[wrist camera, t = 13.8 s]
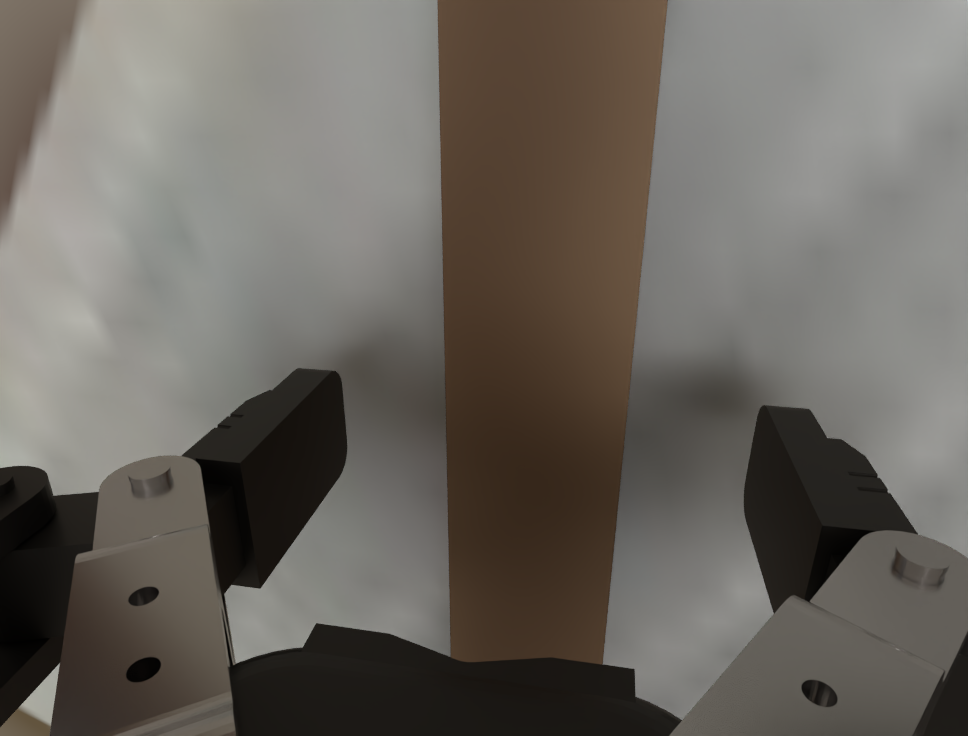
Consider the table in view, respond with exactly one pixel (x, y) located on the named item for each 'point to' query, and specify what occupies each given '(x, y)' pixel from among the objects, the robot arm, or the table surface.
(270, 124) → the table surface
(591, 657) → the wooden post on base
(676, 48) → the table surface
